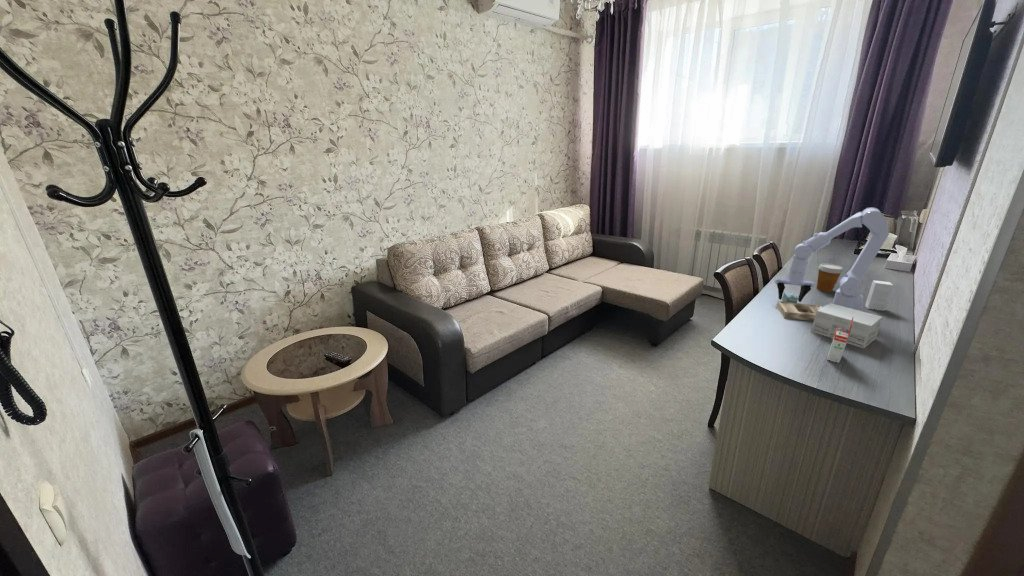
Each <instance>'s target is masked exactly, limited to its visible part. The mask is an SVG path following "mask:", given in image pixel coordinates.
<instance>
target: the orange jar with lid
mask: <svg viewBox="0 0 1024 576" xmlns="http://www.w3.org/2000/svg"><path fill="white" fill-rule="evenodd" d="M817 268H818V273H817V280H816V281H817V282H816V290H818V291H821V292H825V293H827V292H828V293H831V291H832V292H833V290H834V288H835V286H836V284H837V283H838V280H839V277H840V276H841V274H842V273H843V270H844V269H843V267H842V266H840V265H838V264H832V263H820V264H819V266H818V267H817Z"/></svg>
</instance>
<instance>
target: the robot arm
mask: <svg viewBox="0 0 1024 576" xmlns="http://www.w3.org/2000/svg"><path fill="white" fill-rule="evenodd" d="M863 225H864V226H865V227H866V228H867V229H868V230H869V232H870V233H871V235H870V236H869V238H868V240H867V241H866V243H865V244H864V246H863V248H862V250H861V251H860V253H859V255H858V256H857V258H856V260H855V261H854V262H853V265H852V266H851V268H850V269H849V270H848V271H847V272H846V274H845V275H843V276H842V277H841V278H840V279H839V281H838V284H839V288H838V289H836V290H835V294H834V298H833V299H832V302H831V303H832V304H836V305H840V306H843V307H847V308H851V309H855V310H859V311H862V309H863V306H864V305H865V304H864V302H865V298H864V296H863V295H862V294H859V292H860V291H861V284H862V282H863V279H864V276H865V274H866V273H867V271H868V270H869V268H870V266H871V264H872V263H873V261H874V260H875V258H876V256H877V254H878V253H879V251H880V250H881V249H882V247H883V245H884V243H886V240H887V238H888V237H889V235H890V232H889V227H888V226H889V225H888V219H887V218H886V217H885V215H884V214H883V213H882V212H881V210H880V209H878V208H877V207H866V208H865V209H863V210H862V211H858V212H856V213H855V214H854V215H851V216H849V217H847V219H845V220H844V221H842V222H840V223H839V224H837V225H836V226H834V227H833V228H831V229H829V230H828V231H825V232H822V231H820V232H819V233H818V232H815V233H814V234H813V236H812V237H809V238H808V239H807V240H803V241H802V243H798V244H797V245H796V246H795V247H794V250H793V251H794V252H793V253H794V254H793V256H792V259H791V263H790V266H789V271H788V275H787V277H786V278H785V277H784V278H783V277H781V278H780V277H779V278H778V277H775V278H774V283H775V284H776V288H777V291H778V300H779V301H782V298H783V294H784V292H785V291H784V290H785V289H786V286H785V285H790V286H791V285H792V286H800V291H799V295H798V296H797V298H798V300H797V302H800V303H802V301H803V299H804V298H805V296H806V295H807V294H808V293H810V291H811V290H812V288H814V287H815V282H814V281H810V280H804V279H805V274H806V270H807V267H808V262H809V261H808V260H809V258H810V257H811V256H812V253H816V252H817V251H819V250H821V249H823V248H824V247H826V246H828V245H830V244H831V240H832V239H834V238H835V237H837V236H839V235H842V234H843V233H846V232H847V231H849V230H851V229H853V228H863Z"/></svg>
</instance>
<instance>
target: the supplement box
mask: <svg viewBox="0 0 1024 576" xmlns="http://www.w3.org/2000/svg"><path fill="white" fill-rule="evenodd" d="M832 303H833V302H829V303H827V304H825V305H823V306H822V308H821V309H819V310H817V312H816V315H815V319H814V321H812V322H813V323H812V327H811V330H810V332H811V331H812V332H811V333H814V332H815V333H814V334H817V333H818V334H817V335H820V334H821V336H823V335H824V337H826V336H828V337H827V338H829V337H831V338H830V339H832V338H834V335H835V332H836V329H837V327H842V328H846V329H849V328H850V324H851V321H852V318H853V324H852V328H851V331H850V334H849V337H848V340H847V343H846V344H848V345H851V346H854V347H858V348H861V349H866V348H867V347H868V346H869V345H870V344H871V343H872V342H874V341H875V340H876V339H877V335H878V332H879V330H880V327H881V324H882V321H883V316H881V315H878V314H874V313H870V312H865V311H862V310H861V311H859V310H855V309H851V308H847V307H843V306H840V305H836V304H832Z"/></svg>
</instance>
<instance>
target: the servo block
mask: <svg viewBox="0 0 1024 576" xmlns="http://www.w3.org/2000/svg"><path fill="white" fill-rule="evenodd" d="M781 301H782V302H791V303H798V296H797V295H796V293H794V292H793V293H792V292H785V291H783V295H782V299H781Z"/></svg>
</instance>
